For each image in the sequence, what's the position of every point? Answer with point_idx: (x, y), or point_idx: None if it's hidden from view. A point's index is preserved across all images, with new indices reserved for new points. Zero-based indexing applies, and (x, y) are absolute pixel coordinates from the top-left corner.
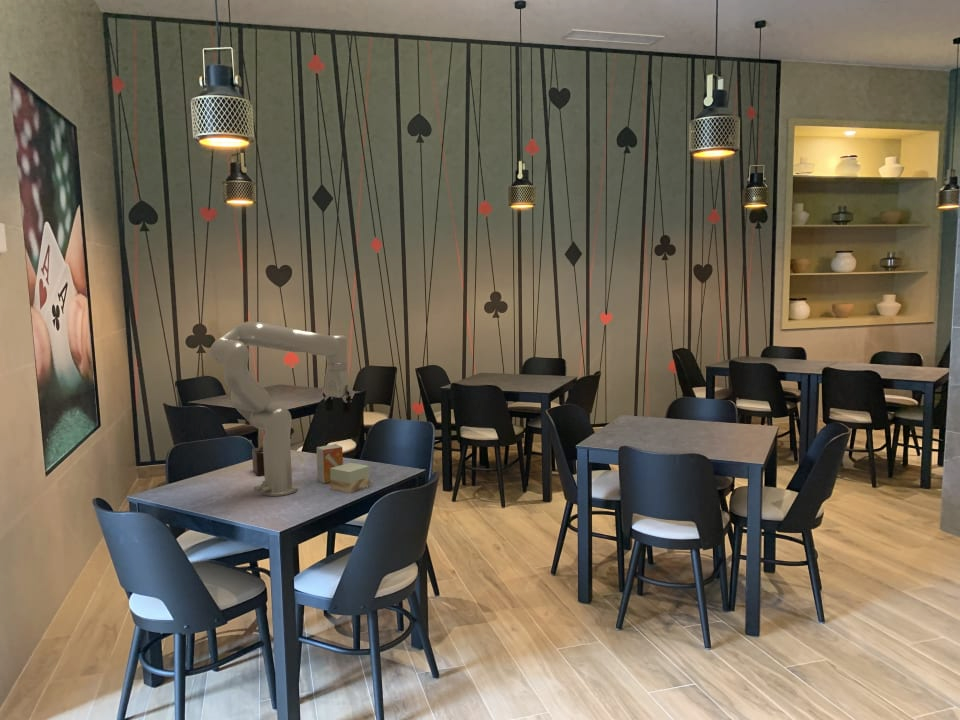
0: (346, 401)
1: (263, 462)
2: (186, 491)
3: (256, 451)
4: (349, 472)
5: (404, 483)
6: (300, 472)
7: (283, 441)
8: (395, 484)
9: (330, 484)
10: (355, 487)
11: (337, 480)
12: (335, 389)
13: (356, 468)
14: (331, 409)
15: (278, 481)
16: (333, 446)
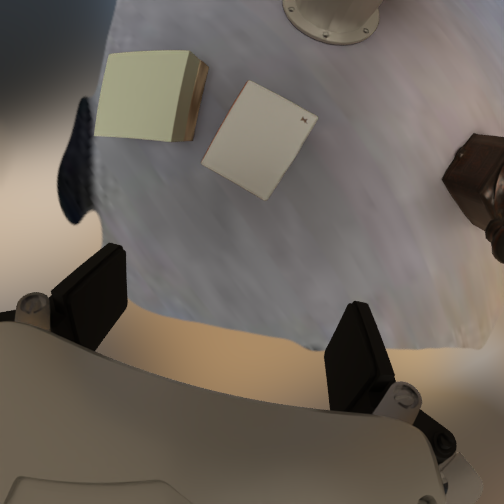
0: (23, 298)
1: (488, 145)
2: (499, 18)
3: None
4: (110, 54)
5: (77, 191)
6: (404, 193)
7: None
8: (87, 175)
9: (205, 64)
10: None
11: None
12: (18, 473)
13: (110, 92)
14: (330, 343)
15: None
16: (243, 151)
